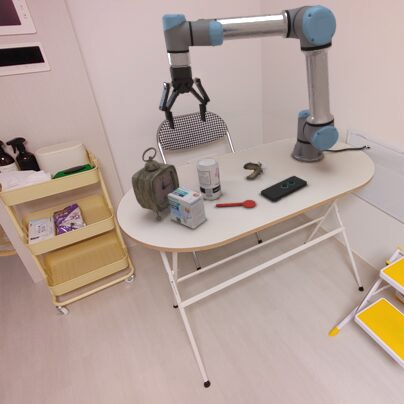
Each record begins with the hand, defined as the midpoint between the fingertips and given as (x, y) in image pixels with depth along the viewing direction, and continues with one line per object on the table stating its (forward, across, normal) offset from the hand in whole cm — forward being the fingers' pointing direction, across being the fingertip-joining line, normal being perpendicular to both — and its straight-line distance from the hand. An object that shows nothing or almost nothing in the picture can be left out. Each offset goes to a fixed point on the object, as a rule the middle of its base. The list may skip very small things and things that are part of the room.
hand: (188, 124), depth 118 cm
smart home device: (+25, -24, +30) cm, 46 cm away
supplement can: (+26, +1, +14) cm, 29 cm away
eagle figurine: (+26, -23, +13) cm, 37 cm away
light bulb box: (+26, +16, +23) cm, 38 cm away
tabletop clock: (+26, +21, +11) cm, 35 cm away
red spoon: (+25, -2, +27) cm, 37 cm away
